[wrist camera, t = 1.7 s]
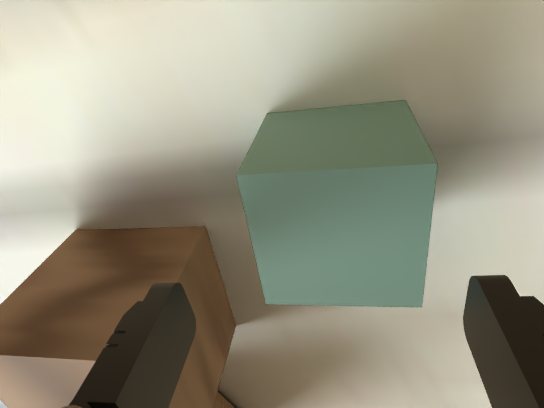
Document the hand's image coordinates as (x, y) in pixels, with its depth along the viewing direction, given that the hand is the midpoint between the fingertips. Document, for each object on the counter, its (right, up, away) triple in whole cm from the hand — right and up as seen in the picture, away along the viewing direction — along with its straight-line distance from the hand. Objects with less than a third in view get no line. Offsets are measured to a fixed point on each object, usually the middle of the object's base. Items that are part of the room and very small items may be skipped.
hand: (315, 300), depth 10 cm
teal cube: (+2, +4, +6) cm, 7 cm away
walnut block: (-8, -2, +12) cm, 14 cm away
